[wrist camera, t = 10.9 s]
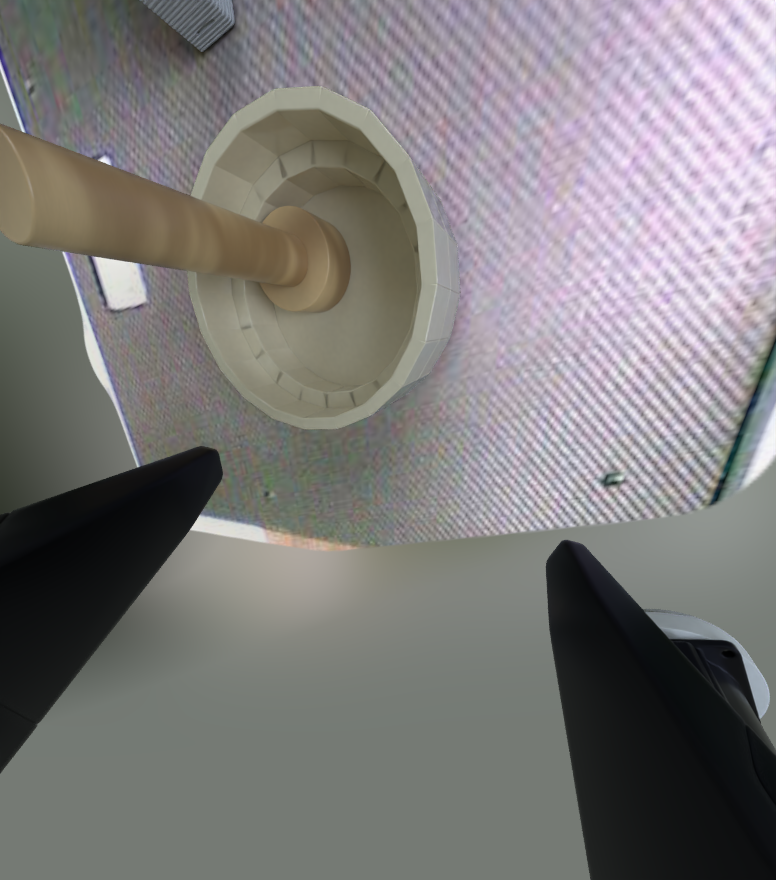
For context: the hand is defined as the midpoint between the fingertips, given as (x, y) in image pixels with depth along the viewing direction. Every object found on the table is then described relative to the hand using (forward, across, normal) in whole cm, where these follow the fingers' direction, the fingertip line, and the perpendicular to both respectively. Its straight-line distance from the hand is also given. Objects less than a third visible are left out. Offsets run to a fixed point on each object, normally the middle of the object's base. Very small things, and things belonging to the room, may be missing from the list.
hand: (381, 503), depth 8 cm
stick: (+15, +8, -3) cm, 17 cm away
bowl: (+15, +6, -2) cm, 16 cm away
